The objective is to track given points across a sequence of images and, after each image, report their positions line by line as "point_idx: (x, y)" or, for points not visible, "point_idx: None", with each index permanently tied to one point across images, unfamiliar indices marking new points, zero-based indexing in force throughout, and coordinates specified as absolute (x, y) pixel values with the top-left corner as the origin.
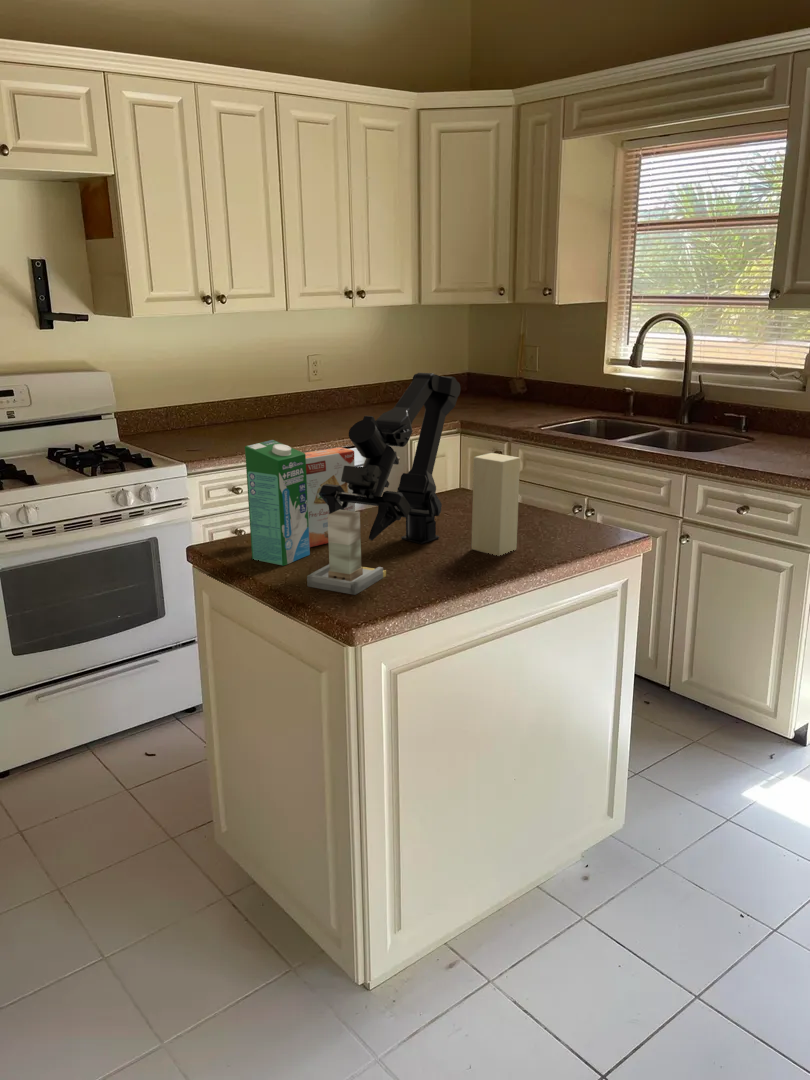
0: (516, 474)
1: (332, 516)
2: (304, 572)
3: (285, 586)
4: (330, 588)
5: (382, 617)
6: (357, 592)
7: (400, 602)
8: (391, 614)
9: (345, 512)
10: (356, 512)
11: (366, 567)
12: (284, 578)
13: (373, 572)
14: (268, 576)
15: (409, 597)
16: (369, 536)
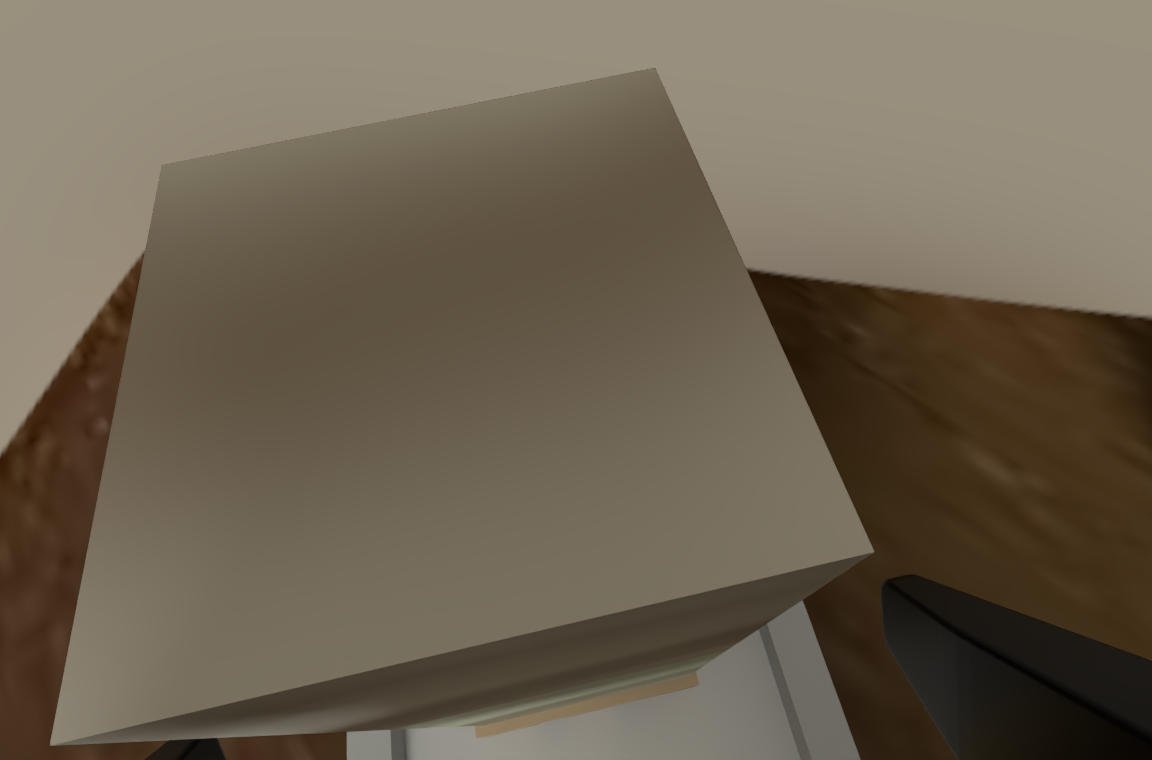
0: None
1: (535, 104)
2: (973, 578)
3: (803, 329)
4: None
5: (99, 337)
6: None
7: (68, 542)
8: (67, 386)
9: (451, 399)
10: (136, 601)
11: None
12: (940, 409)
13: (355, 734)
14: (1044, 375)
15: (34, 650)
16: (185, 743)
